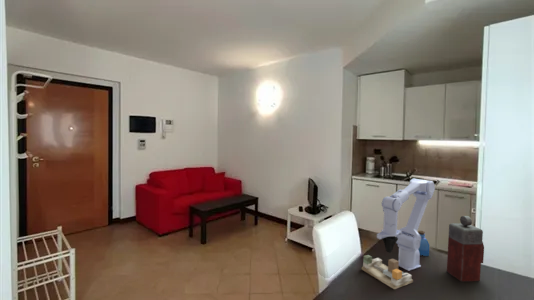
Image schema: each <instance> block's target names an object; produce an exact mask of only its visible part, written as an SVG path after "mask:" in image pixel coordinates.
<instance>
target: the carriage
mask: <svg viewBox="0 0 534 300" xmlns="http://www.w3.org/2000/svg"><path fill="white" fill-rule="evenodd" d="M387 261H388V262H387V266H388V269H386V270H383V274H385V275H387V276H389V277H390V278H392V270H394V269H399V267H400V266H399V260H397V259H395V258H390V259H387ZM402 274H404V271H402Z"/></svg>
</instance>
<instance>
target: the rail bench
mask: <svg viewBox="0 0 534 300" xmlns="http://www.w3.org/2000/svg"><path fill="white" fill-rule="evenodd" d="M386 269H388V265H386V264H385V263H383V259H382V258H380V257H376V258H373V256H371V255H369V254H367V255H363V263H362V266H361V271H364V272H365V273H367V274H368V275H369V276H371V277H372V278H373V277H374V278H375V279H377V280H378V281H379V282H381V283H383V284H385V285H386V286H388V287H389V288H391V289H393V290H397V289H399V288H402V287H404V286H407V285H410V284H412V283H414V279H412V277H413V275H412V274H411V273H408V272H403V274H402V278H401V279H398V280H396V279H395V278H393V277H392V278H390V277H389V276H387V275H385V274H383V270H386Z"/></svg>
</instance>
